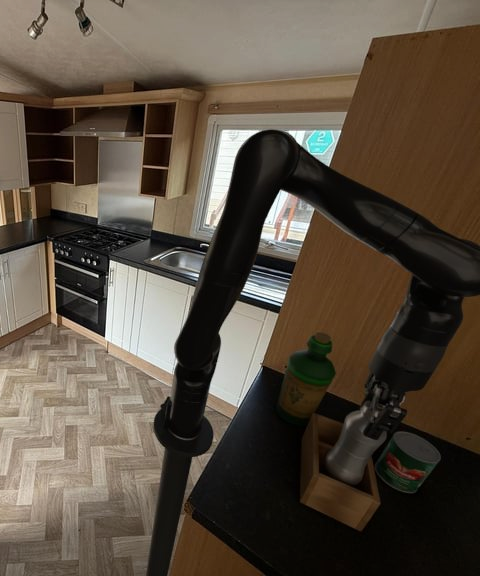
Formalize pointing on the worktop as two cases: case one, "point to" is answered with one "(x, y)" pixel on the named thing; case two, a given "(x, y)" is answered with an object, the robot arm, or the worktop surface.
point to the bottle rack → (327, 491)
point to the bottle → (306, 380)
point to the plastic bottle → (353, 448)
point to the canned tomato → (407, 461)
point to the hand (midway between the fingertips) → (367, 424)
